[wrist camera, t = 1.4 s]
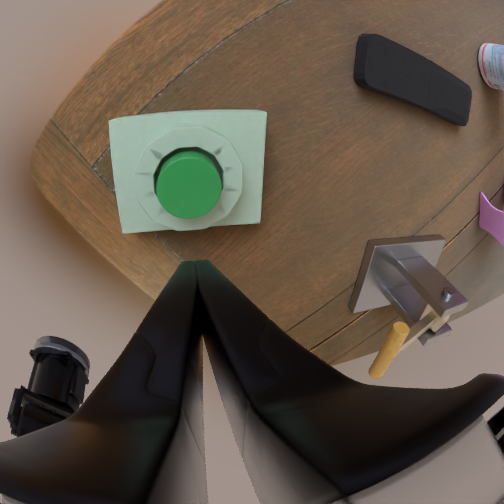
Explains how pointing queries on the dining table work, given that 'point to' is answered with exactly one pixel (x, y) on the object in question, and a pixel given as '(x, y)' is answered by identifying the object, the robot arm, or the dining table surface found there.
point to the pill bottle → (492, 65)
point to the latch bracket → (407, 281)
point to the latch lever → (404, 339)
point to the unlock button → (188, 185)
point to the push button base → (179, 140)
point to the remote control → (411, 78)
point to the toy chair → (491, 219)
